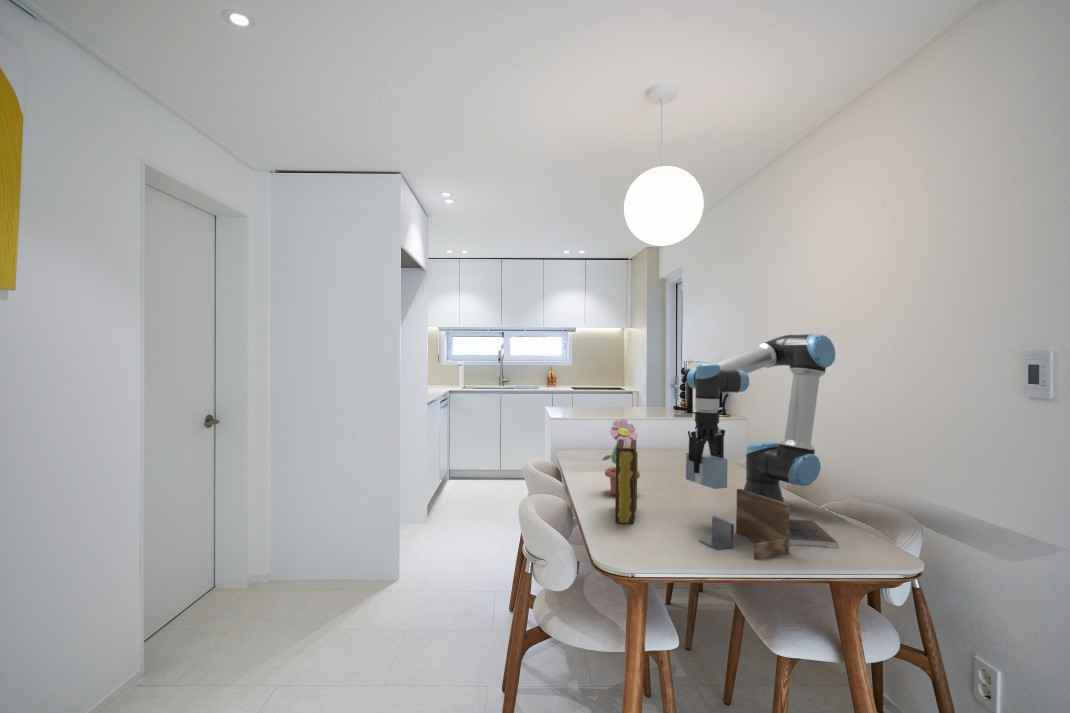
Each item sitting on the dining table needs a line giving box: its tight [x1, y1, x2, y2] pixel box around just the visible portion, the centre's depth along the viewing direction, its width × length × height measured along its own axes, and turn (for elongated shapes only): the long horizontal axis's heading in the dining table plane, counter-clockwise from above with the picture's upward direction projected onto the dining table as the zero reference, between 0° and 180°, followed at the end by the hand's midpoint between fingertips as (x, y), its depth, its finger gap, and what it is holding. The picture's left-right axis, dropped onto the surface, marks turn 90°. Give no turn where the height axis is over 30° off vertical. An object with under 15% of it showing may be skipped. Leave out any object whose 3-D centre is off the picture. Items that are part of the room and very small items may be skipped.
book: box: [614, 439, 640, 525], centre depth 191 cm, size 22×8×25 cm, turn 168°
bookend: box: [698, 515, 735, 551], centre depth 162 cm, size 6×8×7 cm
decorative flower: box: [601, 418, 641, 496], centre depth 218 cm, size 15×14×30 cm
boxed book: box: [685, 451, 729, 490], centre depth 178 cm, size 5×14×9 cm, turn 22°
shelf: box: [735, 488, 791, 560], centre depth 162 cm, size 12×19×14 cm, turn 23°
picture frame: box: [789, 518, 839, 548], centre depth 173 cm, size 16×2×22 cm
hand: (705, 482), depth 178 cm, fingers closed on boxed book, 5 cm apart
